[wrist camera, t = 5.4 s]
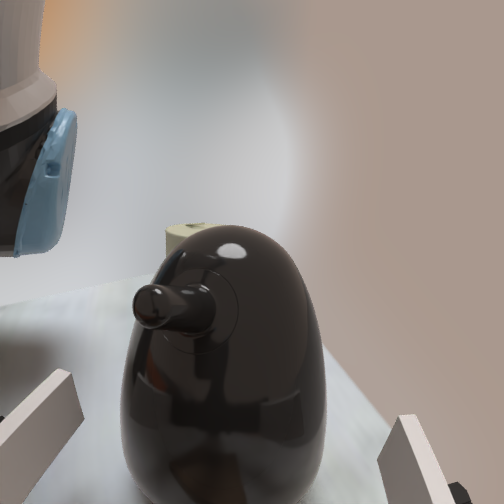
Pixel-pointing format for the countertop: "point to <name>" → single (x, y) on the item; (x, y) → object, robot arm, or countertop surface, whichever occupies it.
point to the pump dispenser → (224, 376)
